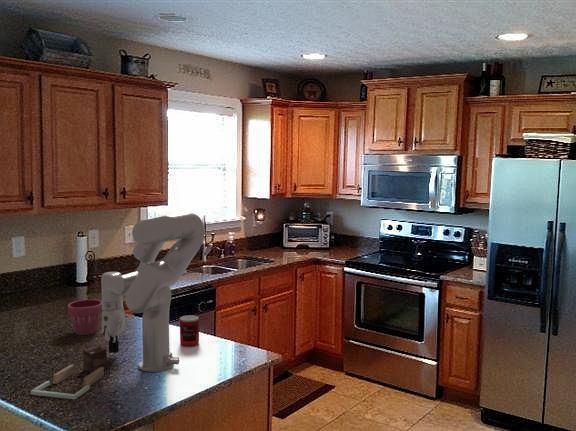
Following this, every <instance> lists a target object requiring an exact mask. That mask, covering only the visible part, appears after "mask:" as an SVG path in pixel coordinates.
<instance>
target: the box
mask: <svg viewBox="0 0 576 431" xmlns="http://www.w3.org/2000/svg"><path fill="white" fill-rule="evenodd" d="M82 355H83V356H82V357H83V358H82V359H83V360H82V362H83V363H82V364H83V365H82V366H83V371H87V372H89V373H92V372H94V371H95V370H97V369H98V368H100V367H102V368H104V370H106V369H108V361H107V360H108V358H107V356H108V355H107V348H103V347H101V346H99V345H96V346H93V347H90V348H86V349H83V350H82Z"/></svg>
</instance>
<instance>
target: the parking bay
mask: <svg viewBox="0 0 576 431" xmlns="http://www.w3.org/2000/svg"><path fill="white" fill-rule="evenodd" d="M49 386H51V381H50V380H46V381H45V382H43V383H41V384H40V385H38V386H36V387H35V388H33V389H31V390H30V395H34V396H41V397H50V398H60V399H67V400H76V399H78V398H79V397H81V396H82V395H84V394H85V393H87V392H88V391H89V390H91V385H87V386H85V387H84V386H83V387H82V388H81V389H79V390H78V391H76V392H75V393H74V394H73V393H66V392H65V393H64V392H59V391H58V392H57V391H48V390H44V389H45V388H47V387H49Z"/></svg>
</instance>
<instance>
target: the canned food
mask: <svg viewBox="0 0 576 431" xmlns="http://www.w3.org/2000/svg"><path fill="white" fill-rule="evenodd" d="M199 342H200V317H199V316H197V315H192V314H191V315H190V314H189V315H182V316H180V317H179V343H180V346H182V347H187V348H190V347H196V346H198V345H199V344H200V343H199Z"/></svg>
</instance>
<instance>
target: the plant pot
mask: <svg viewBox="0 0 576 431" xmlns="http://www.w3.org/2000/svg"><path fill="white" fill-rule="evenodd" d="M102 312H103V310H102V300H98V299H93V298H92V299H80V300H76V301H72V302H70V303H68V305H67V313H68V315H70V319H71V322H72V325H73V329H74V333H75V334H76V335H79V336H80V335H81V336H86V335H92V334H96V333H97V332H98V330H99V325H100V324H99V323H100V318H101V314H102Z"/></svg>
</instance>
